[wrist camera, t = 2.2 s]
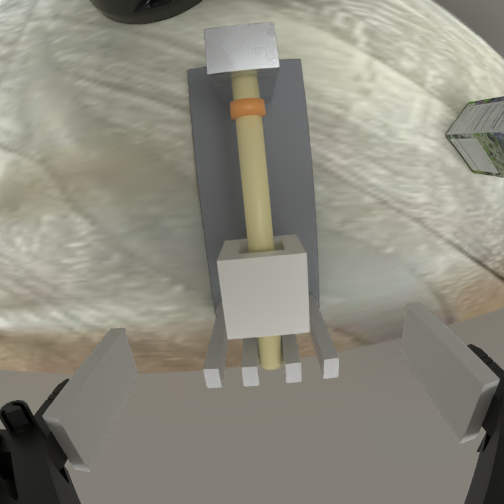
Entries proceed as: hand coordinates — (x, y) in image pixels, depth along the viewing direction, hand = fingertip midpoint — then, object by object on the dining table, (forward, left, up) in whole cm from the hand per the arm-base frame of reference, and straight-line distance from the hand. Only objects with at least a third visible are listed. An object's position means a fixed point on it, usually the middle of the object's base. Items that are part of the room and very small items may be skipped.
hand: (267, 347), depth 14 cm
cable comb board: (-4, -3, -17) cm, 18 cm away
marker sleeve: (0, 0, -10) cm, 10 cm away
